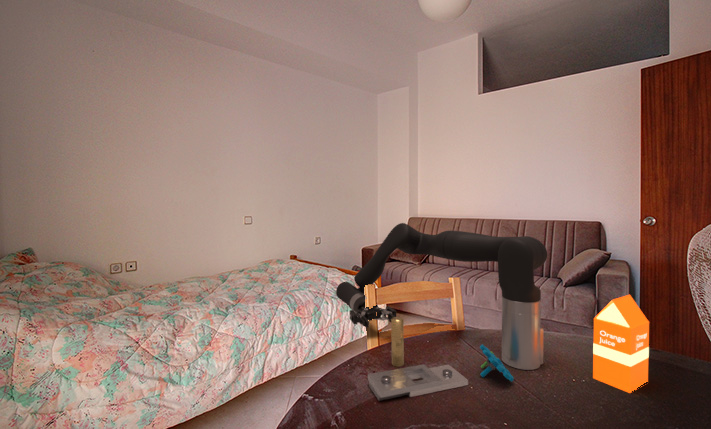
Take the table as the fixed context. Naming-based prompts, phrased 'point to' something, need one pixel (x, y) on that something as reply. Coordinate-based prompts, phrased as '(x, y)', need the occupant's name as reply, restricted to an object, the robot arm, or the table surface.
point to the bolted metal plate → (402, 384)
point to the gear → (493, 364)
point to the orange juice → (621, 345)
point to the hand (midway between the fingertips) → (381, 322)
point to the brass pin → (397, 341)
